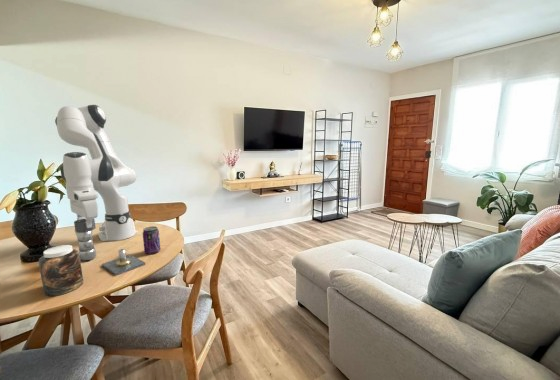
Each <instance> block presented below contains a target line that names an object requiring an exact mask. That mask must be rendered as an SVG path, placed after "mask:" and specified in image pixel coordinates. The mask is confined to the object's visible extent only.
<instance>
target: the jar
mask: <svg viewBox="0 0 560 380" xmlns="http://www.w3.org/2000/svg"><path fill="white" fill-rule="evenodd" d="M38 266H39V272H40V279H41V285H42V289H43V295H45V296H47V295H48V297H54V296H55V297H56V296H62V295H65V294H69V293H70V292H73V291H75V290H77V289H79V288H80V287H81V286H82V285H84V284H83V283H84V276H83V270H82V264H81V259H80V257H79V250H78V249H75V248H73V245H71V244H61V245H55V246H53V247H48V248H47V249H45V250H44V251H43V255H42V256H41V257H40V258H39V259H38Z"/></svg>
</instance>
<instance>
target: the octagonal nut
mask: <svg viewBox="0 0 560 380" xmlns="http://www.w3.org/2000/svg"><path fill="white" fill-rule="evenodd" d="M73 223H74V232H75V231H76V232H87V231H91V230H92V231H93V230H95V229H97V227H96V221H95V218H93V220H92V227H90V228H87V227H86V224H85V223H86V220H85V218H84V219H80V220H77V219H76V220H74V222H73Z"/></svg>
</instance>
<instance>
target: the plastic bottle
mask: <svg viewBox="0 0 560 380" xmlns="http://www.w3.org/2000/svg"><path fill="white" fill-rule="evenodd" d="M76 220H78V217H76ZM74 232H75V236H76V239H77V242H78V253H79V257H80V261H84V262H85V261H90V260H94V259H95V258H96V256H97V251H96V248H95V245H94V241H93V230H91V231H87V232H76V231H75V230H74Z"/></svg>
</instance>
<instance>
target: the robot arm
mask: <svg viewBox="0 0 560 380" xmlns="http://www.w3.org/2000/svg"><path fill="white" fill-rule="evenodd" d="M57 112H58V113H57V116H56V117H55V119H54V122H55V125H56V128H57V133H58V136H59V137H60V139H61V140H63V142H66V143H67V144H69V145H72V146H76V147H77V146H78V147H83V148H86V149H87V150H88V152H89V155H90V157H91V159H89V157H88V155H87V154H86V153H84V152H81V151H79V152H78V151H77V152H76V151H73V152H67V153H65V154H63V156H62V157H63V158H62V164H60V165H59V170H60V176H61V179H62V180H64V181H66V182H65V188H66V189H65V190H66V195H67V199H68V200H69V205H70V210H71V212H72V213H73V214H76V218H78V220H80V219H84V218H85V220H86V223H85V224H86V227H87V228H90V227H92V220H93V219H96V218H98V215H99V209H98V208H99V206H98V199H99V196H98V195H100V197H101V199H102V200H103V205H104V210H105V214H104V222H103V223H101V226H99V229H98V230H99V232H97V236H98V237H99V240H100V241H101V242H107V241H108V242H109V241H110V242H111V241H114V242H115V241H121V240H125V239H129V238H131V237H134V236H135V235H136V234H137V233H138V232H139V231H138V229H136V227H135V223H134V219H133V218H131V212H130V210H129V201H128V198H127V197H126V196H125V195H123V194H121V193H120V191H119V189H118V188H123V187H127V186H130V185H132V184H134V183H135V182H136V180H137V173H136V171H135V170H134V169H133V168H132V167H129V166H128V165H126V164H125V163H123V161H122V160H121V159H120V158H119V156H118V155H117V154H116V152H115V149H114V147H113V146H112V143H111V141H110V139H109V136H108V135H107V133H106V132H105V130H104V128H105V125H106V122H107V115H106V114H105V112H104V110H103V109H102V108H101V107H100V106H99V105H97V104H90V105H87V106H81V107H75V106H71V105H65V106H62V107H60V109H58V111H57Z"/></svg>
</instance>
